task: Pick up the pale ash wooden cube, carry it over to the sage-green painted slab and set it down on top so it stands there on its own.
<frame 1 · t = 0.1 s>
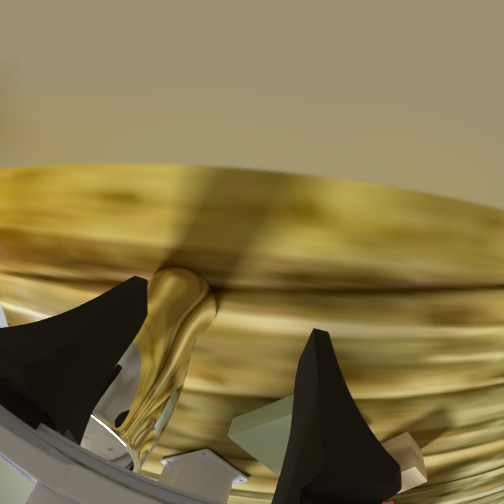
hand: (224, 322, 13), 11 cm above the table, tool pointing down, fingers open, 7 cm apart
ash cube: (394, 449, 28), on the table
green slab: (294, 426, 29), on the table
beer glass: (182, 299, 26), on the table
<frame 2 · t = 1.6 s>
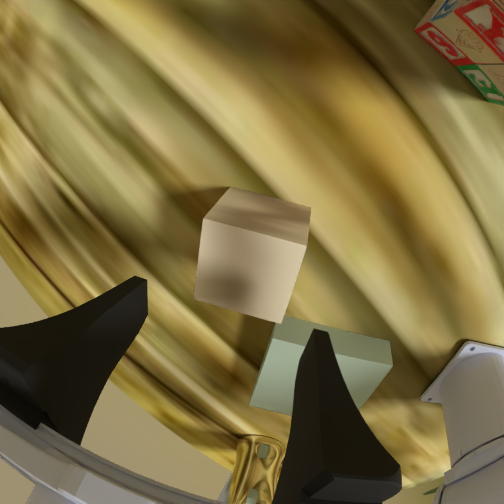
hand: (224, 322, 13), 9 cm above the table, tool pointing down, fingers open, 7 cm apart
ash cube: (262, 232, 20), on the table
green slab: (317, 362, 26), on the table
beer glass: (262, 444, 34), on the table
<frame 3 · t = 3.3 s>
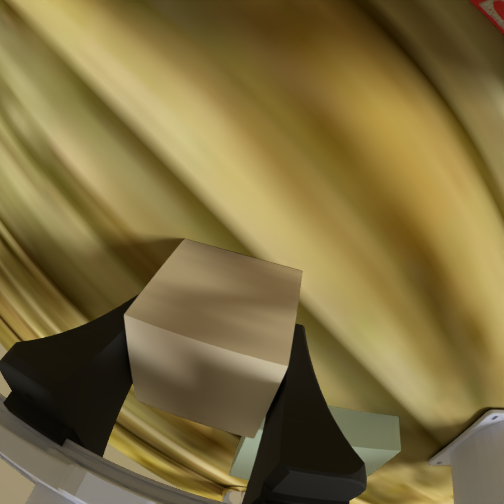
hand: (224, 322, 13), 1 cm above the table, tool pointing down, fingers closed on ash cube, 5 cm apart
ash cube: (232, 301, 14), on the table, touching gripper
green slab: (309, 433, 20), on the table
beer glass: (249, 493, 28), on the table
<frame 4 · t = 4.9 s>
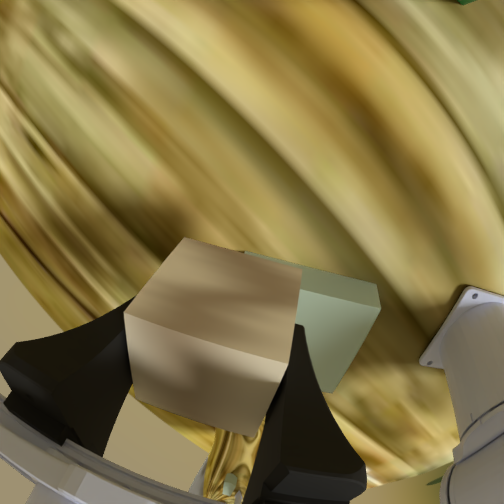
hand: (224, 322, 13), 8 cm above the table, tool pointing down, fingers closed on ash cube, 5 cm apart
ash cube: (232, 299, 14), point 7 cm above the table, touching gripper
green slab: (295, 314, 23), on the table
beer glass: (244, 423, 32), on the table
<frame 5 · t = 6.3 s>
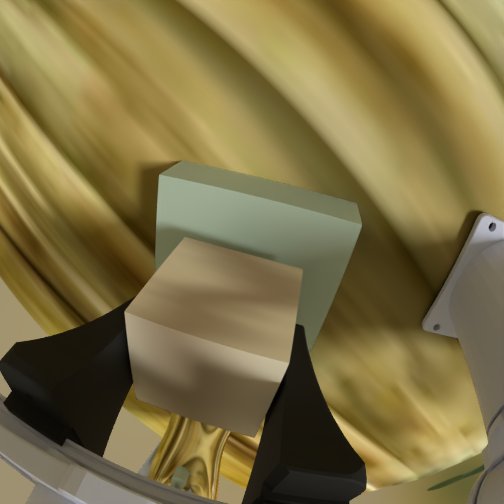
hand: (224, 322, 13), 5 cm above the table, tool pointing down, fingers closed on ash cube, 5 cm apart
ash cube: (233, 299, 14), point 4 cm above the table, touching gripper
green slab: (252, 253, 18), on the table
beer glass: (206, 409, 27), on the table
when the fingers open (5 cm above the table, at t = 6.9 s): ash cube drops 1 cm, resting on green slab.
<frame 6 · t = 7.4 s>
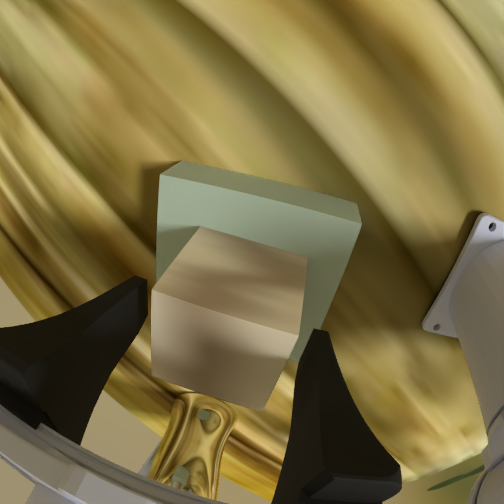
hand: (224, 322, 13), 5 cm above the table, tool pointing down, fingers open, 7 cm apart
ash cube: (242, 284, 16), point 2 cm above the table, touching green slab
green slab: (253, 252, 18), on the table, touching ash cube
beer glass: (206, 409, 27), on the table
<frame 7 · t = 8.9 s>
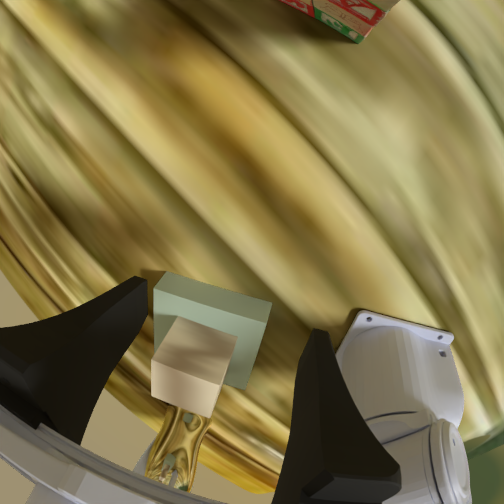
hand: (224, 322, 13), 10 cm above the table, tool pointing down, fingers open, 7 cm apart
ash cube: (203, 346, 26), point 2 cm above the table, touching green slab
green slab: (213, 322, 28), on the table, touching ash cube
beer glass: (190, 414, 37), on the table
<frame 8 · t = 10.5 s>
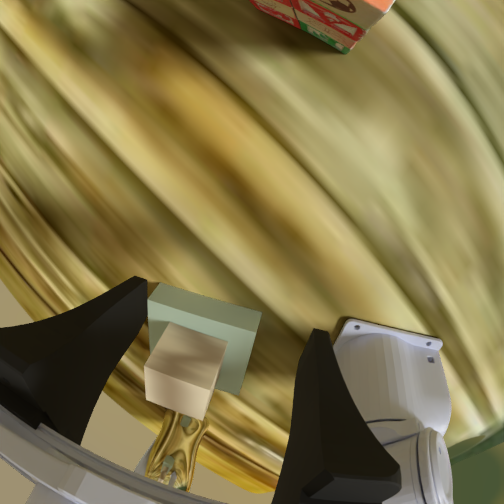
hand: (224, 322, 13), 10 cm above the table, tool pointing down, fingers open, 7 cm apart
ash cube: (195, 351, 26), point 2 cm above the table
green slab: (206, 330, 29), on the table
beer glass: (188, 417, 38), on the table
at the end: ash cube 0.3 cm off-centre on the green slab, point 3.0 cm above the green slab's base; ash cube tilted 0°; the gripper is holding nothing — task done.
